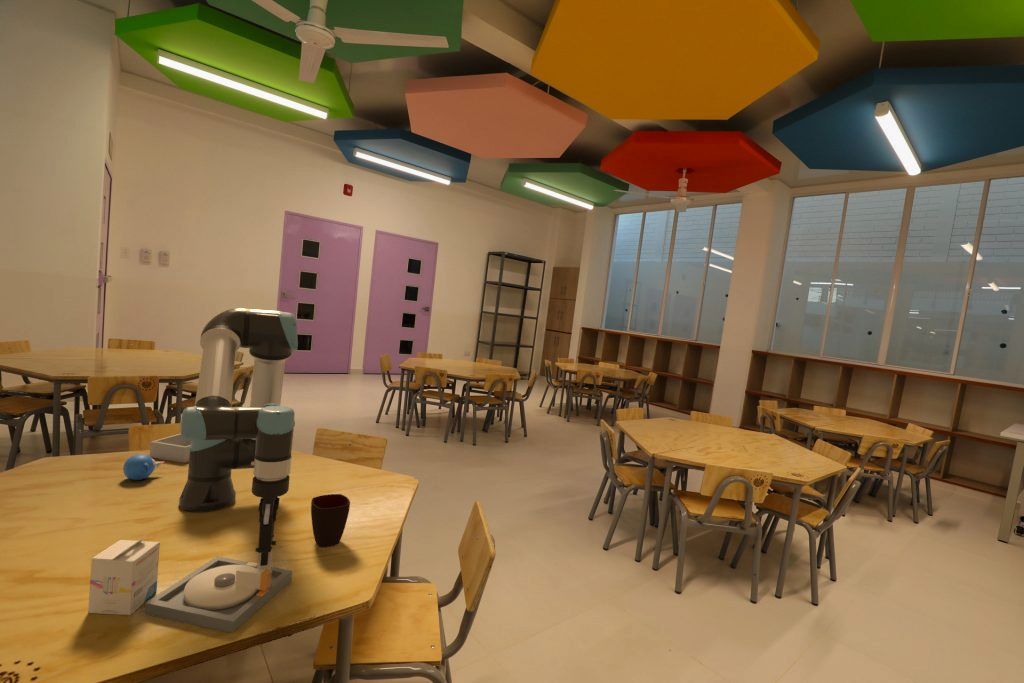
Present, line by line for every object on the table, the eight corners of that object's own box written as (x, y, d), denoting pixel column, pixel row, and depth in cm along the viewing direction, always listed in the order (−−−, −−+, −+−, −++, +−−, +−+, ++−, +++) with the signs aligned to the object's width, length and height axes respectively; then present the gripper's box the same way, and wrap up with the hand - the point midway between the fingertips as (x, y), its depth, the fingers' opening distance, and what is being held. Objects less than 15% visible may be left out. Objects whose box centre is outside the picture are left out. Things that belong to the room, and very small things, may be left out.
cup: (313, 554, 129) (317, 510, 129) (300, 532, 140) (304, 492, 140) (350, 546, 135) (354, 505, 135) (335, 526, 146) (338, 487, 146)
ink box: (117, 589, 106) (121, 530, 106) (157, 591, 107) (161, 533, 106) (86, 613, 98) (90, 550, 97) (130, 616, 98) (134, 552, 98)
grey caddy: (149, 457, 185) (150, 441, 185) (196, 442, 208) (197, 428, 208) (184, 462, 183) (185, 447, 183) (228, 447, 206) (229, 433, 206)
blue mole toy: (172, 478, 168) (173, 454, 167) (130, 487, 158) (132, 461, 157) (156, 469, 174) (158, 446, 174) (116, 477, 164) (117, 452, 164)
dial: (166, 605, 101) (168, 580, 100) (213, 567, 116) (215, 546, 115) (248, 615, 100) (250, 591, 100) (284, 576, 115) (286, 555, 115)
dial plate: (144, 614, 99) (145, 602, 99) (216, 565, 119) (217, 555, 119) (232, 633, 97) (233, 620, 97) (291, 580, 117) (292, 569, 116)
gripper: (256, 466, 114) (248, 562, 115) (248, 486, 102) (240, 594, 103) (291, 465, 116) (283, 559, 118) (287, 485, 104) (279, 590, 106)
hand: (263, 575), depth 110 cm, fingers closed
